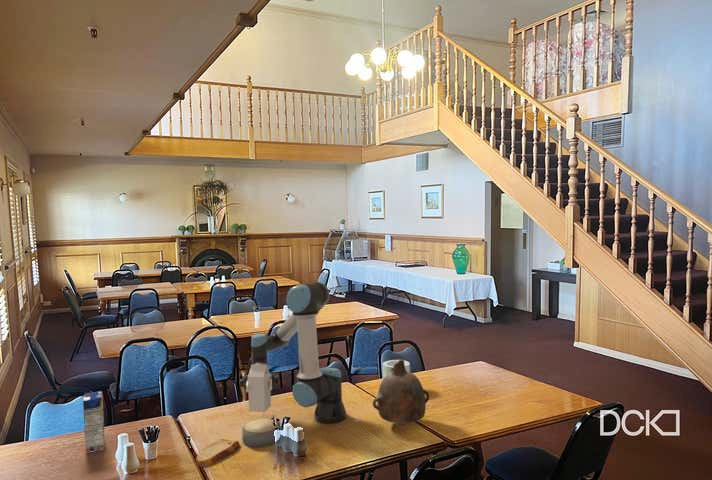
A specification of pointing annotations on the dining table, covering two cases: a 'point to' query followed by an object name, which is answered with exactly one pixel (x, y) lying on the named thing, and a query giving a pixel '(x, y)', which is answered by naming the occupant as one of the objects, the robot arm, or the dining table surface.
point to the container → (390, 364)
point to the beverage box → (94, 421)
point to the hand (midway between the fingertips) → (259, 387)
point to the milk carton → (259, 388)
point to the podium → (259, 433)
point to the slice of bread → (215, 452)
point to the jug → (401, 396)
